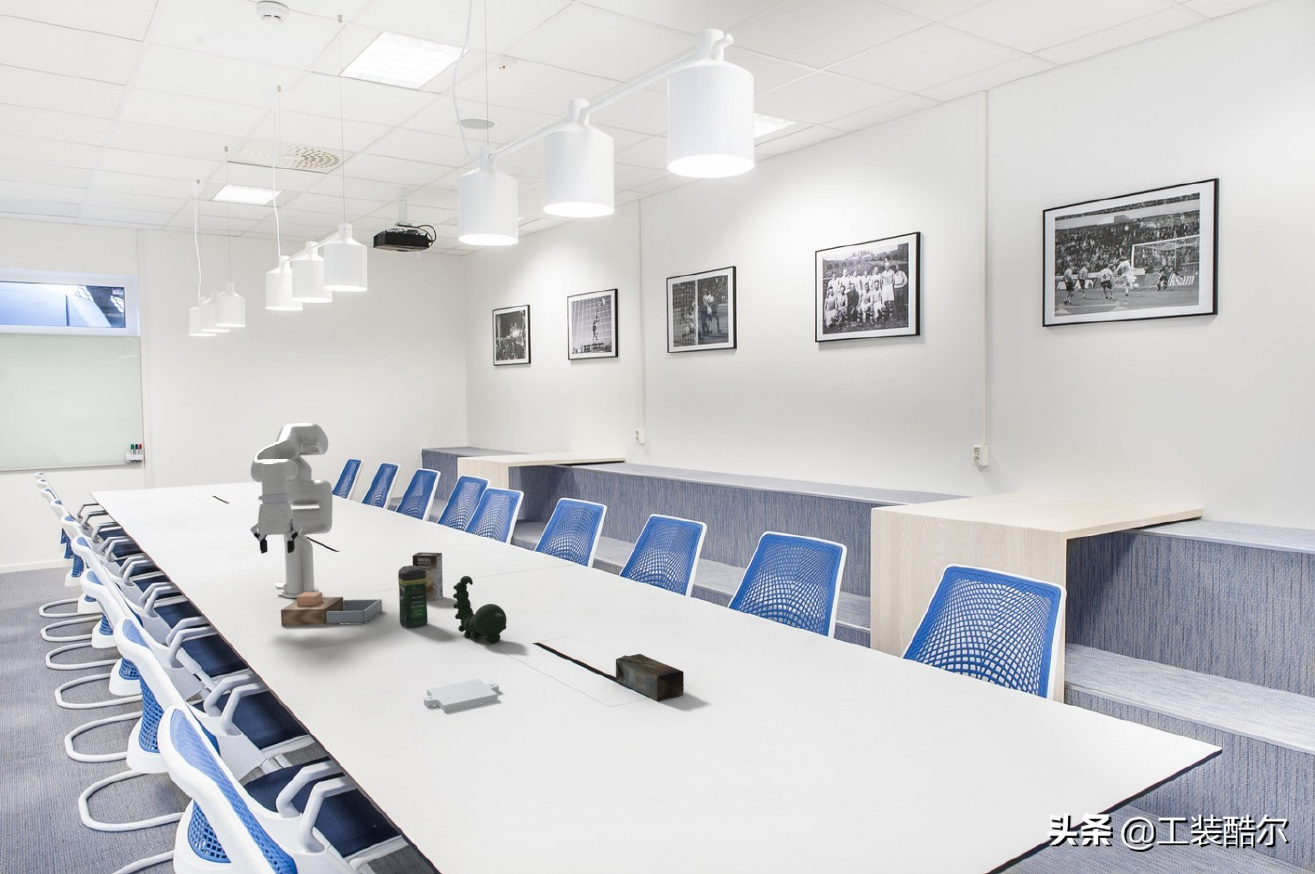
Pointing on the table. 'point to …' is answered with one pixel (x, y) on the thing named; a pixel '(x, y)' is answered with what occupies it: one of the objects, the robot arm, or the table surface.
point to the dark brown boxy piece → (649, 677)
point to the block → (309, 598)
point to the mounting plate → (461, 694)
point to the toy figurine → (478, 615)
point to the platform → (310, 612)
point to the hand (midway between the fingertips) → (277, 552)
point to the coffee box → (431, 573)
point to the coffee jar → (412, 596)
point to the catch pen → (355, 611)
